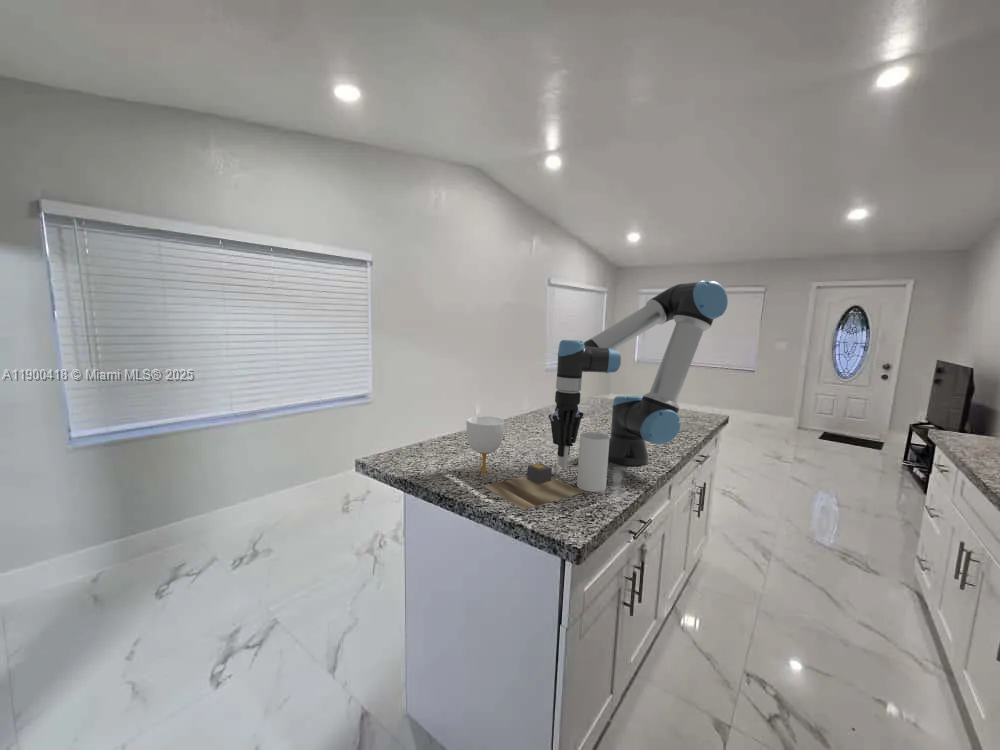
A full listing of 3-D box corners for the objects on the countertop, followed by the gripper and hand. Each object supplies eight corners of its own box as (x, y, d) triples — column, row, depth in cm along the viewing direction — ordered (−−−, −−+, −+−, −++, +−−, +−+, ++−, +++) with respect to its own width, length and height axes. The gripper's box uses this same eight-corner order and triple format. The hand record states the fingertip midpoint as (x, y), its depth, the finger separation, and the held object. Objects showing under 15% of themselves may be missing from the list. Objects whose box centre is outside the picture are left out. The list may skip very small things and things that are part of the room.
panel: (541, 475, 132) (541, 472, 132) (584, 495, 118) (584, 491, 118) (482, 489, 119) (483, 485, 119) (523, 513, 105) (523, 509, 105)
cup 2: (611, 493, 120) (615, 438, 118) (586, 496, 117) (590, 440, 115) (594, 482, 128) (598, 431, 126) (571, 485, 125) (574, 432, 123)
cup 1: (475, 483, 123) (477, 426, 121) (458, 470, 133) (460, 417, 131) (509, 477, 129) (512, 423, 127) (490, 465, 139) (492, 415, 137)
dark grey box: (539, 475, 129) (540, 461, 128) (550, 480, 125) (551, 466, 124) (527, 478, 126) (527, 464, 125) (538, 484, 122) (538, 469, 121)
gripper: (574, 388, 135) (568, 459, 138) (543, 390, 127) (538, 465, 130) (592, 391, 129) (586, 466, 132) (561, 394, 121) (555, 473, 124)
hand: (562, 465), depth 131 cm, fingers closed
